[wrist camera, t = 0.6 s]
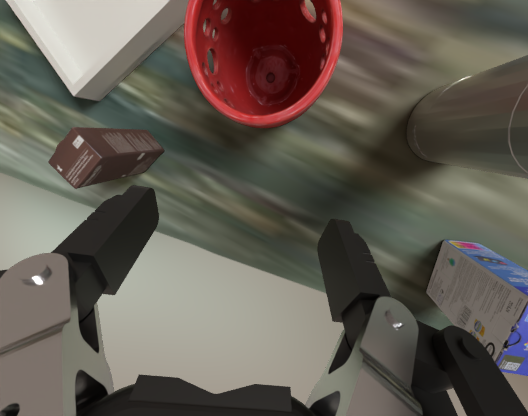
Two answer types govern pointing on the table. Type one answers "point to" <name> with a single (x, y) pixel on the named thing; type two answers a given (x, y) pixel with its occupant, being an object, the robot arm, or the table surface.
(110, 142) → the box
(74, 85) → the tray
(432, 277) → the ink cartridge box
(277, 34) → the plant pot
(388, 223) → the table surface
